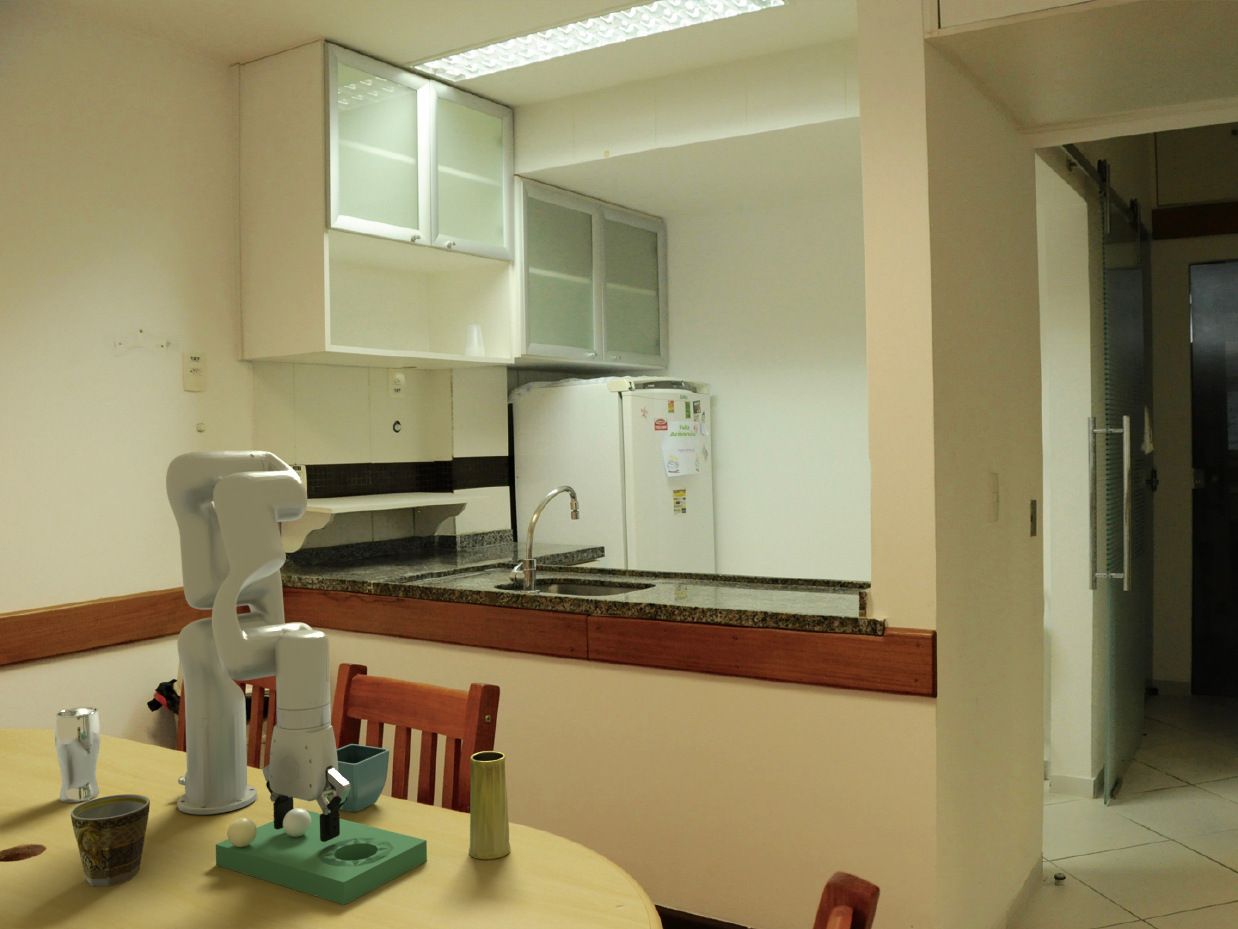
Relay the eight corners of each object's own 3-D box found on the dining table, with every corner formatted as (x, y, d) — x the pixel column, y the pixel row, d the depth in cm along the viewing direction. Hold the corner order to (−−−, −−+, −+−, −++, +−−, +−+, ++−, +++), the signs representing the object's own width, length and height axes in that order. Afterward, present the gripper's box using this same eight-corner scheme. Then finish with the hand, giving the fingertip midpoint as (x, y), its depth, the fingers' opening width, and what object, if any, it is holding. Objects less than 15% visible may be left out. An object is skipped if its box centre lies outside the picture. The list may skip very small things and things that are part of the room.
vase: (477, 863, 145) (475, 765, 144) (463, 849, 150) (461, 754, 150) (516, 855, 148) (514, 758, 147) (501, 841, 153) (499, 747, 153)
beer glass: (110, 794, 176) (107, 709, 176) (70, 807, 171) (68, 719, 170) (87, 787, 180) (85, 704, 180) (48, 799, 174) (46, 713, 174)
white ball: (277, 838, 148) (276, 811, 148) (298, 829, 151) (298, 802, 151) (295, 843, 146) (295, 815, 146) (317, 834, 149) (316, 807, 149)
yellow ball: (221, 848, 144) (220, 820, 144) (244, 838, 148) (244, 811, 148) (240, 853, 142) (239, 825, 142) (263, 844, 146) (262, 816, 145)
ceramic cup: (97, 861, 148) (95, 794, 147) (164, 861, 147) (162, 793, 147) (44, 902, 135) (42, 828, 134) (117, 902, 134) (115, 827, 134)
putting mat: (216, 865, 146) (215, 844, 146) (302, 828, 159) (302, 809, 159) (344, 905, 132) (343, 882, 132) (426, 861, 146) (426, 840, 146)
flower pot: (315, 811, 167) (314, 757, 167) (352, 794, 175) (351, 743, 175) (355, 819, 163) (354, 764, 163) (392, 802, 171) (390, 749, 170)
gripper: (243, 715, 148) (246, 830, 149) (325, 730, 139) (328, 853, 140) (284, 703, 155) (286, 814, 155) (365, 717, 146) (368, 834, 146)
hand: (306, 832), depth 147 cm, fingers open, 9 cm apart
